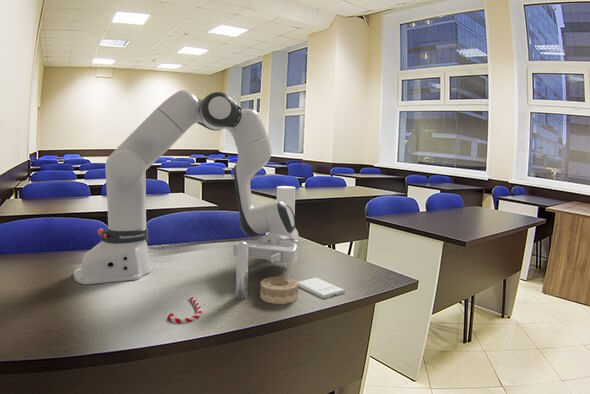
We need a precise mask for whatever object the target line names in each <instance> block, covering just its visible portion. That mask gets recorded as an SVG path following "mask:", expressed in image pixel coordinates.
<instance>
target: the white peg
mask: <svg viewBox="0 0 590 394" xmlns="http://www.w3.org/2000/svg"><path fill="white" fill-rule="evenodd" d="M238 242H239V241H238ZM235 257H236V259H235V260H236V261H235V262H236V263H235V266H236V267H235V298H236V299H238V300H245V299H246V300H247V298H248V296H249V295H248V293H249V291H248V289H249V287H248V286H249V285H248V284H249V283H248V282H249V281H248V280H249V257H248V244H247V243H246V242H239V243H238V244H237V247H236V255H235Z"/></svg>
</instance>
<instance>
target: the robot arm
mask: <svg viewBox="0 0 590 394" xmlns="http://www.w3.org/2000/svg"><path fill="white" fill-rule="evenodd" d="M194 124H198V125H200V126H201V127H204V128H206V129H207V130H211V131H221V130H224V129H225V130H227V131H228V132H229V133H230V134H231V136H232V138H233V140H234V143H235V147H236V151H237V161H236V163H235V164H234V166H233V178H234V186H235V191H236V200H237V205H238V206H237V207H238V212H239V213H238V215H239V218H238V219H239V226H240V230H241V231H242V232H243V233H244V234H245V235H247V236H249V237H251V238H255V237H258V236H261V235H263V234H265V235H263V236H262V237H261V238H260V240H259V241H257V240H251V239H243V240H240V241H237V242H234V243H233V245H232V252H233V255H234V256H236V247H237V244H238V243H239V242H246V243H247V244H248V258H253V259H261V260H266V261H267V262H268V263H274V262H283V263H289V264H293V263H296V261H297V260H298V258H299V253H300V251H299V250H300V249H299V247H300V246H299V237H300V235H299V232H298V230H297V228H296V217H295V216H294V213H293V211H292V209H291V208H290V206H288V205H287V204H286V203H285V202H283V201H277V200H276V201H274V202H269V203H266V204H262V205H258V206H254V203H253V202H254V201H253V198H252V196H253V195H252V190H251V189H252V188H251V180H252V178H253V177H254V176H255V174H256V173H258V172H259V171H260V170H262V169H263V168H264V167H265V166H266V165H267V164H268V163H269V162H270V160H271V156H272V154H273V153H272V146H271V142H270V139H269V135H268V132H267V131H266V128H265V124H264V123H263V120H262V119H261V117H260V115H259V113H258V112H257V110H254V109H252V108H242V107H241V106H240V105H239V104H238V103H237V102H236V101H235V100H234V99H233V98H232V97H231V96H230V95H228V94H227V93H224V92H221V91H215V92H211V93H209V94H207V95H206V96H205V97H204V98H199V97H197V96H196V95H195V94H194V93H192V92H190V91H188V90H185V89H184V90H183V89H182V90H178V91H176V92H175V93H174V94H172V95H171V96H169V97H168V98H167V99H165V100H164V101H163V102H161V104H159V105H158V107H156V108H155V109H154V110H153V111H152V113H151V114H149V115H148V116H147V117H146V119H145V120H143V121H142V123H141V124H139V125H138V126H137V128H136V129H135V130H134V131H132V133H130V134H129V136H127V137H126V138H125V140H124V141H123V142H122V143H121V144H120V145H119V146H117V148H116V149H115V150H113V151H112V152H111V154H109V156H108V157H107V159H106V161H105V165H104V166H105V170H104V171H105V185H106V198H107V226H108V227H107V228H106V229H103V228H98V230H97V235H99V236H100V237H101V241H100V242H99V243H97V244H96V245H95V246H93V247H92V248H91V249H89V250H88V251H87V252H85V254H84V255H83V257H82V260H81V261H82V262H81V268H77V269H76V270H75V271H74V272H73V279H74V281H75V282H77V283H79V284H82V285H93V284H94V285H95V284H102V283H104V284H105V283H114V282H124V281H134V280H135V281H136V280H139V279H140V278H142V277H143V276H145V275H147V274H149V273H151V272H152V270H153V267H152V263H151V260H150V255H149V250H148V245H149V244H148V243H149V229H148V226H147V204H146V203H147V202H146V201H147V200H146V199H147V182H146V181H147V180H146V179H147V178H146V177H147V174H146V173H147V172H146V171H147V170H148V169H149V168H150V167H151V166H152V165H153V164H154V163H155V162H157V161H158V160H159V159H160V158H161V157H162V156H163V155H164V154H165V153H167V151H168V150H169V149H170V148H172V146H173V145H175V143H176V142H177V141H178V140H179V139H180V138H181V137H183V135H184V134H185V133H186V132H187V131H188V130H190V129H189V128H191V127H192V126H193V125H194Z"/></svg>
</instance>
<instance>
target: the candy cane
mask: <svg viewBox="0 0 590 394" xmlns="http://www.w3.org/2000/svg"><path fill="white" fill-rule="evenodd" d="M188 300H189V301H190V302H191V304H192V305H193V306H194V308H195V311H196V313H195V314H193V315H192V316H189V317H185V318H176V317H174V315H175V314H174V313H173V312H170V313H169V314H168V315H167V321H169V322H170V321H171V323H173V322H174V324H187V323H192V322H194V321H197V320H198V319H199V318H200V317H201V316H202V313H203V312H202V311H203V309H202V308H201V305H200V303H199V302H198V300H196V298H195V297H194V296H189V299H188Z"/></svg>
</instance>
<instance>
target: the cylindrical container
mask: <svg viewBox="0 0 590 394" xmlns="http://www.w3.org/2000/svg"><path fill="white" fill-rule="evenodd" d="M277 201H283V202H285V203H286V204H287V205H288V206H290V208H291V209H292V211H293V213H294V217H295V213H296V212H295V210H296V208H295V207H296V205H295V204H296V186H289V185H281V186H276V202H277Z"/></svg>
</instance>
